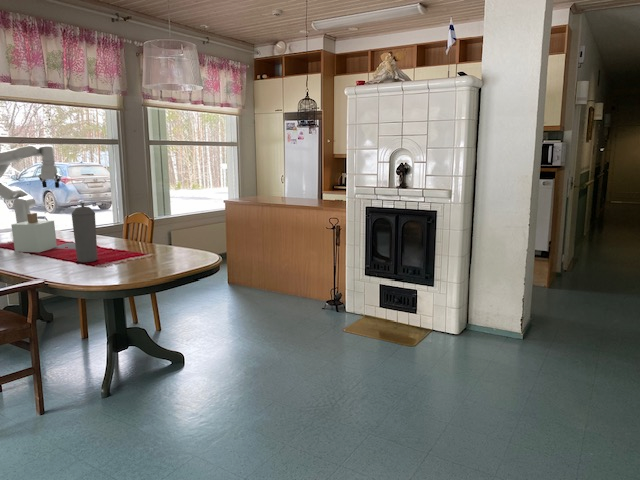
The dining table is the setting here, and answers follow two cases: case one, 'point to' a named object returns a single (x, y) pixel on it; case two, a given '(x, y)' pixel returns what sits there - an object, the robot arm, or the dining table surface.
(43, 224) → the cover
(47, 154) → the robot arm
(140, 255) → the dining table surface
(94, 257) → the canister
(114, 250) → the dining table surface
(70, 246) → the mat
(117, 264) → the dining table surface
